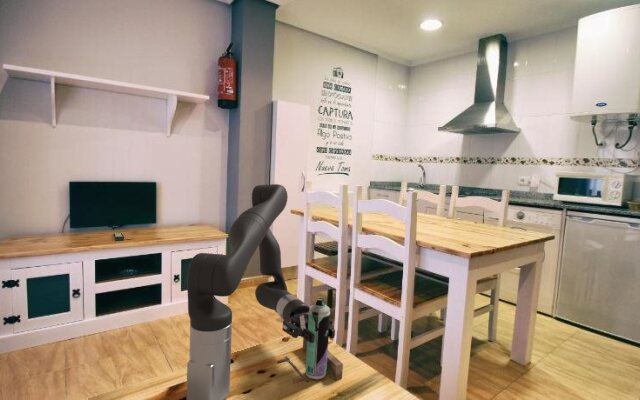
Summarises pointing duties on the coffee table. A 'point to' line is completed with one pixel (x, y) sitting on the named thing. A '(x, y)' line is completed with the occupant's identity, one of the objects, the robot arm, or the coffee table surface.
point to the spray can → (318, 340)
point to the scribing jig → (332, 365)
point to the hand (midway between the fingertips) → (323, 337)
